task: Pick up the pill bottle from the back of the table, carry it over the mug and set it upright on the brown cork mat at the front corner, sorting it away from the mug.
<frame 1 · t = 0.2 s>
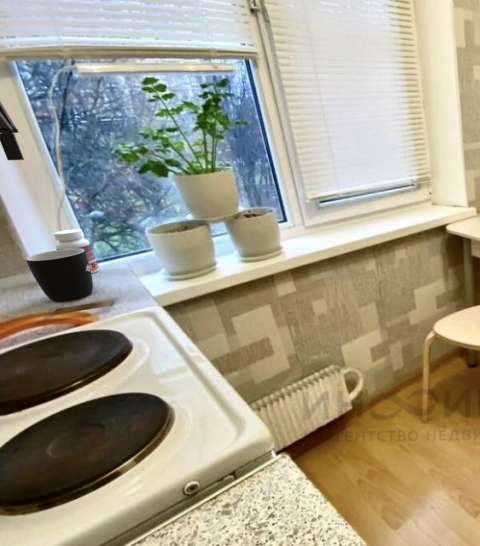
hand: (3, 162, 102), 28 cm above the countertop, tool pointing down, fingers open, 13 cm apart
cork mat: (80, 313, 86), on the countertop
pill bottle: (84, 274, 110), on the countertop
mug: (71, 296, 95), on the countertop
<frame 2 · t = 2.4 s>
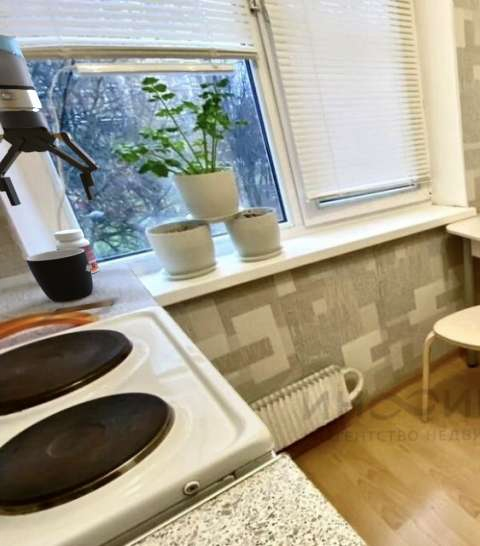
hand: (55, 202, 104), 19 cm above the countertop, tool pointing down, fingers open, 13 cm apart
nothing on the countertop moved.
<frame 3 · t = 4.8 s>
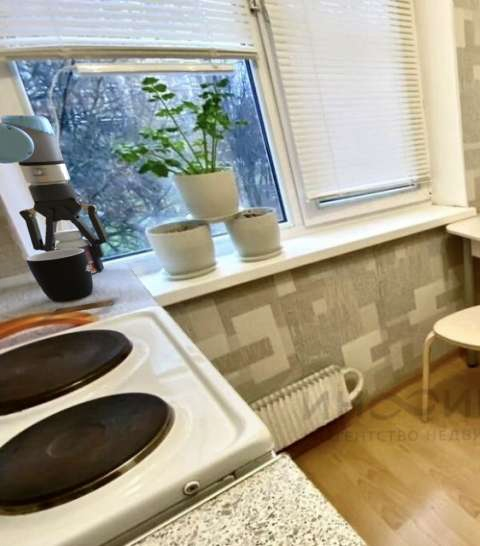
hand: (83, 271, 110), 0 cm above the countertop, tool pointing down, fingers closed on pill bottle, 6 cm apart
pill bottle: (84, 274, 110), on the countertop, touching gripper
everything else where it was.
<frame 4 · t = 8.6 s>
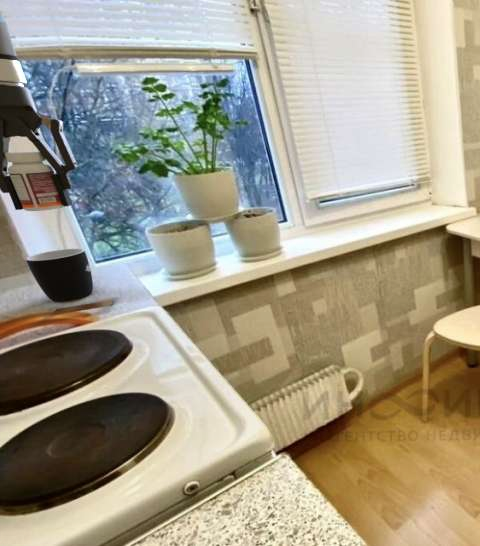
hand: (45, 206, 86), 21 cm above the countertop, tool pointing down, fingers closed on pill bottle, 6 cm apart
pill bottle: (46, 209, 87), point 20 cm above the countertop, touching gripper
everything else where it was.
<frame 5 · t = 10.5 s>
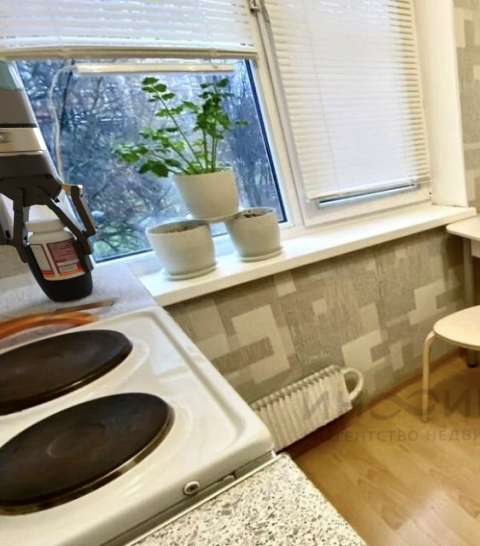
hand: (66, 273, 83), 9 cm above the countertop, tool pointing down, fingers closed on pill bottle, 6 cm apart
pill bottle: (67, 276, 83), point 8 cm above the countertop, touching gripper
everything else where it was.
when the fingers open (1 cm above the countertop, at t = 12.5 s): pill bottle stays where it is, resting on cork mat.
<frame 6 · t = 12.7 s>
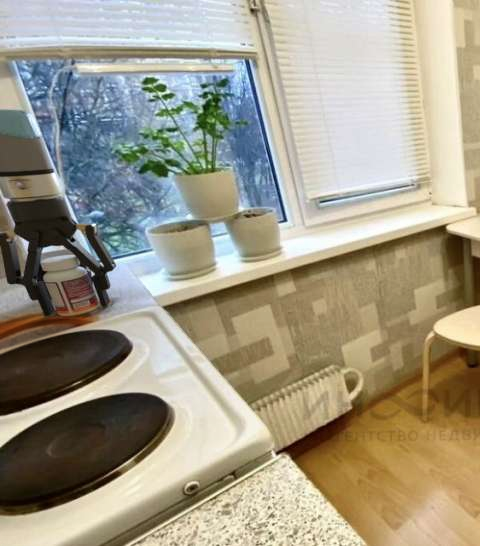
hand: (78, 308, 86), 1 cm above the countertop, tool pointing down, fingers open, 8 cm apart
pill bottle: (80, 311, 86), resting on cork mat
everything else where it was.
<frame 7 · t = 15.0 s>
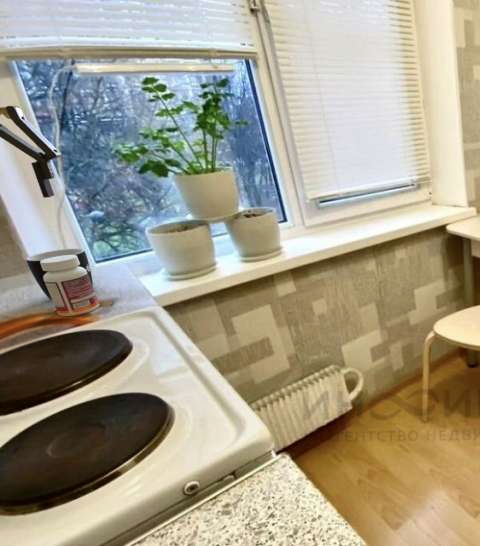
nothing on the countertop moved.
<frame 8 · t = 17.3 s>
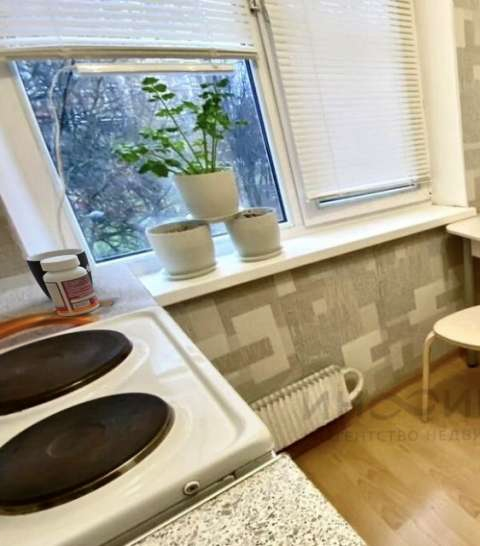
nothing on the countertop moved.
at the end: pill bottle 0.1 cm off-centre on the cork mat, point 0.4 cm above the cork mat's base; pill bottle tilted 0°; mug moved 0.2 cm from its start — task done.
